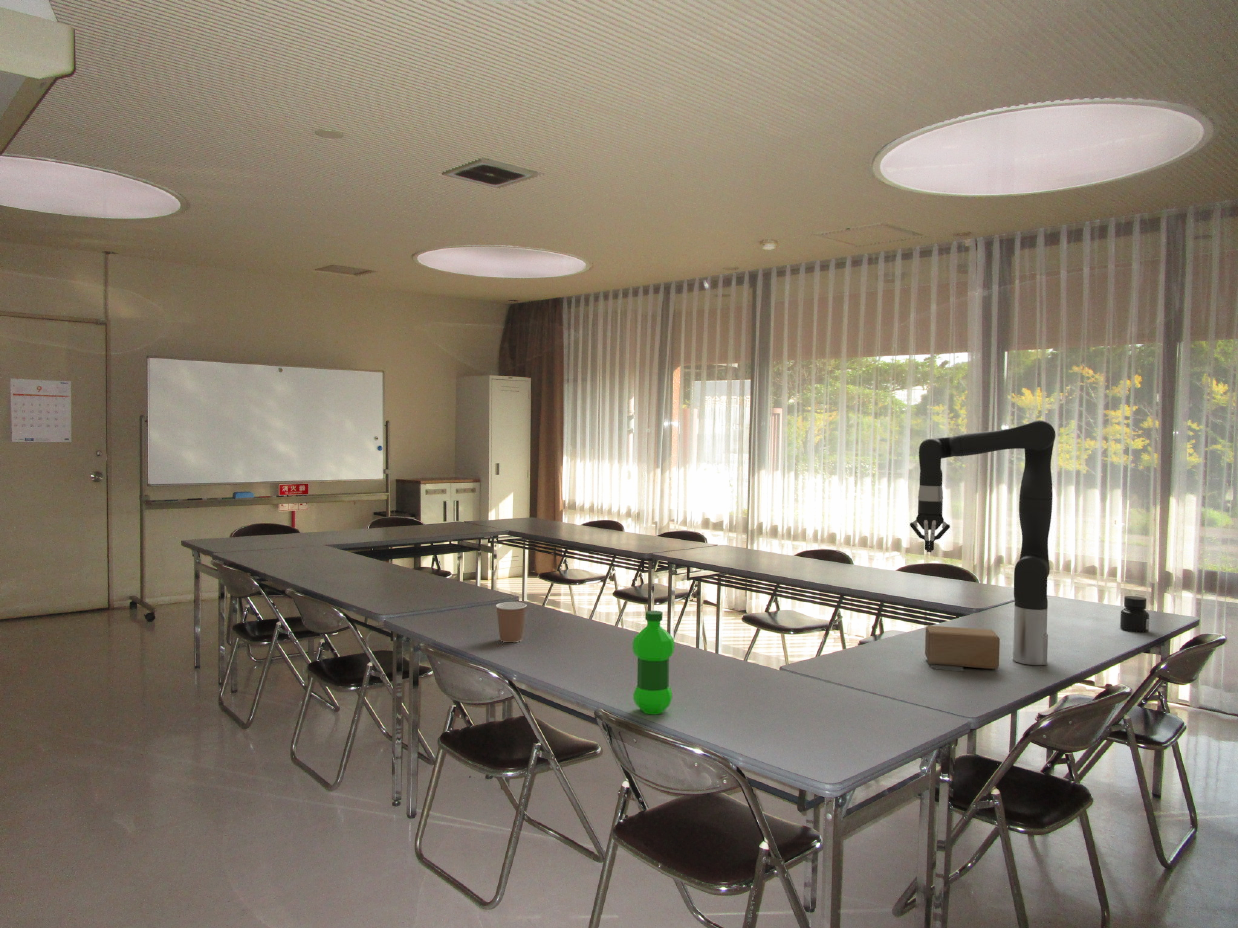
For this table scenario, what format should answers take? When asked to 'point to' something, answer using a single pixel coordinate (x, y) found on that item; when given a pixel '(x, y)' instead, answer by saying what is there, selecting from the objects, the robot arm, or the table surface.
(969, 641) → the block
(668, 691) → the plastic bottle
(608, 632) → the table surface
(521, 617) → the coffee cup
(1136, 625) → the ink bottle
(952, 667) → the mat
